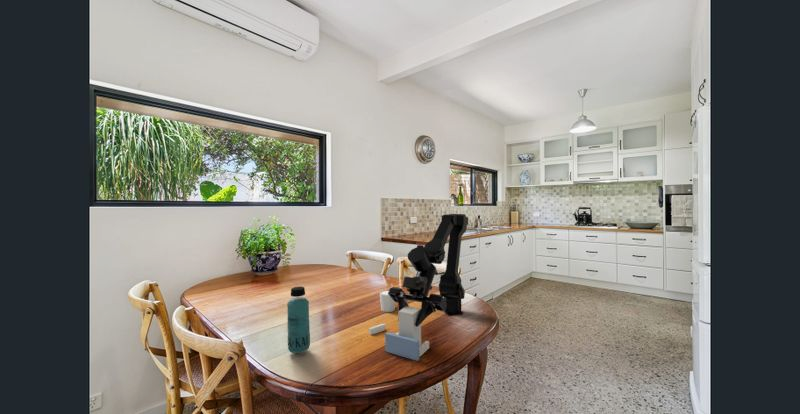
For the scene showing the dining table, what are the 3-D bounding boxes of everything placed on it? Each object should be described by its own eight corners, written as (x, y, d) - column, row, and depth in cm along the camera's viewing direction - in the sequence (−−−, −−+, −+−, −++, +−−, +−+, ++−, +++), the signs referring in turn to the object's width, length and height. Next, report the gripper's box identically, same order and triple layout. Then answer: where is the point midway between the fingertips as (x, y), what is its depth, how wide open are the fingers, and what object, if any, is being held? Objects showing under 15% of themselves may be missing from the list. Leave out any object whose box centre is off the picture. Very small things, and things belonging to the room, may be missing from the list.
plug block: (407, 343, 103) (406, 306, 102) (421, 346, 100) (420, 308, 100) (399, 349, 99) (398, 311, 98) (413, 353, 96) (412, 314, 96)
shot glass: (394, 313, 129) (394, 295, 128) (377, 312, 130) (377, 294, 130) (398, 306, 135) (397, 290, 135) (382, 305, 137) (381, 289, 136)
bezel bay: (400, 340, 105) (399, 323, 105) (430, 348, 99) (430, 330, 99) (385, 351, 98) (385, 333, 97) (417, 360, 92) (417, 342, 92)
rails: (383, 329, 114) (383, 323, 114) (401, 338, 106) (401, 332, 106) (369, 333, 110) (369, 328, 110) (386, 344, 102) (386, 338, 102)
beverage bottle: (290, 348, 101) (288, 284, 100) (312, 347, 101) (310, 284, 100) (285, 359, 94) (283, 291, 93) (308, 357, 95) (306, 290, 94)
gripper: (390, 262, 107) (371, 306, 98) (442, 269, 97) (426, 318, 88) (403, 280, 114) (386, 322, 105) (452, 288, 104) (438, 335, 95)
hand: (407, 324), depth 98 cm, fingers open, 6 cm apart
